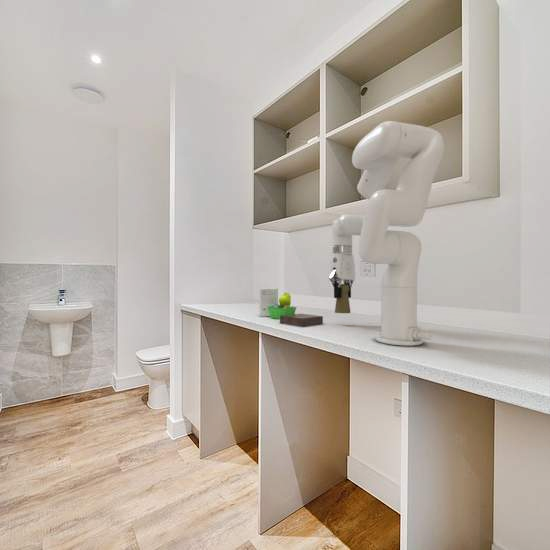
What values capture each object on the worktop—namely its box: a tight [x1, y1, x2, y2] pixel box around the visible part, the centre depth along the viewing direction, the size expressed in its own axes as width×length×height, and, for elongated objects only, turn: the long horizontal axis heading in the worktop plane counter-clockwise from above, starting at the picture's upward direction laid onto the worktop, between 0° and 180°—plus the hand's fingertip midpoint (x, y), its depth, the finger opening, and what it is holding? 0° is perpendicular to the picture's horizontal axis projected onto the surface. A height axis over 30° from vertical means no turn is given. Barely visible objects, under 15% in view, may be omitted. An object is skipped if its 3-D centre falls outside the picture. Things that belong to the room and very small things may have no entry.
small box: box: [259, 287, 279, 317], centre depth 147 cm, size 8×6×13 cm
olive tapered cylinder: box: [334, 283, 351, 314], centre depth 120 cm, size 6×6×11 cm
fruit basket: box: [268, 292, 297, 320], centre depth 138 cm, size 11×9×11 cm
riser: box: [279, 313, 324, 328], centre depth 123 cm, size 12×12×3 cm
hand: (342, 297), depth 120 cm, fingers closed on olive tapered cylinder, 5 cm apart
